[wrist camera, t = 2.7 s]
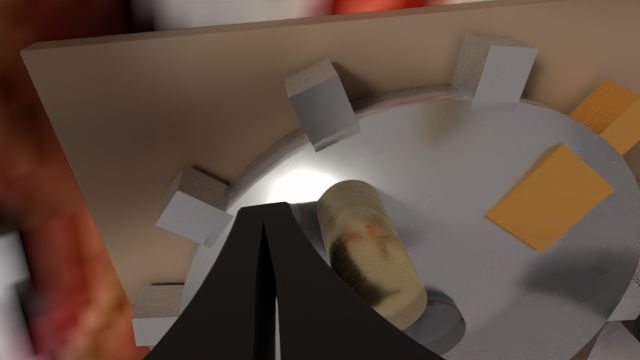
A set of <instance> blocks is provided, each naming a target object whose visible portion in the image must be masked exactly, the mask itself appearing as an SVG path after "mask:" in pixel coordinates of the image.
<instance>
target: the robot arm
mask: <svg viewBox="0 0 640 360" xmlns="http://www.w3.org/2000/svg"><path fill="white" fill-rule="evenodd" d="M276 298H277V303H278V320H279V337H280V358H281V360H446V359H444V358H443V357H441V356H439V355H438V354H436V353H434V352H433V351H431V350H429V349H428V348H426V347H425V346H423V345H421V344H420V343H418V342H417V341H415V340H414V339H412V338H411V337H410V336H408V335H407V334H405V333H404V332H403V331H401V330H400V329H398V328H397V327H395V326H394V325H393V324H392V323H390V322H389V321H388V320H387V319H385V318H384V317H383V316H382V315H380V314H379V313H378V312H377V311H375V310H374V309H373V308H372V307H370V306H369V305H368V304H367V303H366V302H365V301H363V300H362V299H361V298H360V297H359V296H358V295H357V294H356V293H355V292H354V291H353V290H352V289H351V288H350V287H349V286H348V285H347V284H346V283H345V282H344V281H343V280H342V279H341V278H340V277H339V276H338V275H337V274H336V273H335V272H334V271H333V270H332V268H331V267H330V266H329V265H328V264H327V263H326V261H325V260H324V259H323V258H322V257H321V255H320V254H319V253H318V251H317V250H316V249H315V247H314V246H313V245H312V243H311V242H310V240H309V239H308V238H307V236H306V235H305V233H304V232H303V230H302V228H301V227H300V225H299V223H298V222H297V220H296V218H295V216H294V214H293V212H292V209H291V207H290V204H289V203H287V202H286V201H283V202H275V203H268V204H261V205H253V206H246V207H241V208H240V209H239V210H238V212H237V215H236V218H235V220H234V223H233V225H232V228H231V230H230V232H229V235H228V237H227V239H226V241H225V243H224V245H223V247H222V249H221V251H220V253H219V255H218V257H217V259H216V261H215V262H214V264H213V266H212V268H211V269H210V271H209V273H208V274H207V276H206V278H205V279H204V281H203V283H202V284H201V286H200V287H199V289H198V290H197V292H196V293H195V295H194V296H193V298H192V299H191V301H190V302H189V304H188V305H187V306H186V308H185V309H184V310H183V312H182V313H181V315H180V316H179V317H178V319H177V320H176V321H175V322H174V323H173V325H172V326H171V327H170V328H169V330H168V331H167V332H166V333H165V335H164V336H163V337H162V338H161V339H160V341H159V342H158V343H157V344H156V345H155V346H154V348H153V349H152V350H151V351H150V352H149V353H148V354H147V355H146V356H145V357H144V358H143V359H142V360H275V355H276Z"/></svg>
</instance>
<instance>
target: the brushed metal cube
mask: <svg viewBox="0 0 640 360" xmlns="http://www.w3.org/2000/svg"><path fill="white" fill-rule="evenodd" d="M639 286H640V285H639ZM621 323H622V324H623V325H624V326H625V327H626V328H627V329H628V330H629V332H630V333H631V334H632V335H633V336H634V337H635V338H636V339H637V340H638V341H639V342H640V314H639V315H638V317H637V318H636V320H622V321H621Z"/></svg>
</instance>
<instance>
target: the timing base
mask: <svg viewBox="0 0 640 360" xmlns="http://www.w3.org/2000/svg"><path fill="white" fill-rule="evenodd" d="M465 32H471V33H482V34H492V35H503V36H510V37H512V38H514V39H517V40H519V41H521V42H524V43H526V44H528V45H531V46H533V47H535V48H538V52H537V55H536V57H535V60H534V63H533V65H532V68H531V71H530V73H529V76H528V79H527V81H526V84H525V86H524V89H523V92H522V93H523V94H526V95H528V96H531V97H533V98H535V99H538V100H540V101H542V102H545V103H547V104H549V105H551V106H553V107H555V108H556V109H558V110H560V111H561V112H563V113H565V114H567V115H568V116H569V115H570V114H571V113H572V112H573V111H574V110H575V109H576V108H577V107H578V106H579V105H580V104H581V103H582V102H583V101H584V100H585V99H586V98H587V97H588V96H589V95H590V94H591V93H592V92H593V91H594V90H595V89H596V88H597V87H598V86H599V85H600V84H601V83H602V82H603V81H604V80H607V81H610V82H612V83H614V84H616V85H619V86H621V87H623V88H626V89H628V90H630V91H633V92H635V93H637V94H639V95H640V0H495V1H484V2H473V3H462V4H451V5H440V6H429V7H418V8H407V9H396V10H385V11H374V12H363V13H352V14H341V15H330V16H319V17H308V18H297V19H286V20H275V21H264V22H253V23H242V24H231V25H220V26H209V27H198V28H187V29H176V30H165V31H154V32H143V33H132V34H121V35H110V36H99V37H88V38H77V39H66V40H55V41H44V42H35V43H33V44H32V45H30V46H28V47H26V48H25V49H23V50H21V51H19V52H20V54H21V57H22V59H23V61H24V63H25V66H26V68H27V70H28V72H29V75H30V77H31V79H32V82H33V84H34V86H35V88H36V91H37V93H38V95H39V98H40V100H41V102H42V104H43V107H44V109H45V111H46V113H47V116H48V118H49V120H50V123H51V125H52V127H53V129H54V132H55V134H56V136H57V138H58V141H59V143H60V145H61V148H62V150H63V152H64V154H65V157H66V159H67V161H68V164H69V166H70V168H71V170H72V173H73V175H74V177H75V179H76V182H77V184H78V186H79V189H80V191H81V193H82V195H83V198H84V200H85V202H86V205H87V207H88V209H89V211H90V214H91V216H92V218H93V220H94V223H95V225H96V227H97V230H98V232H99V234H100V236H101V239H102V241H103V243H104V245H105V248H106V250H107V252H108V255H109V257H110V259H111V261H112V264H113V266H114V268H115V271H116V273H117V275H118V277H119V280H120V282H121V284H122V286H123V289H124V291H125V293H126V296H127V298H128V300H129V302H130V305H131V307H132V309H133V311H134V309H135V306H136V302H137V299H138V295H139V292H140V288H141V286H160V285H184V283H185V277H186V271H187V265H188V259H189V256H190V253H191V251H192V248H193V245H194V242H195V241H192V240H190V239H188V238H185V237H183V236H180V235H178V234H176V233H173V232H171V231H168V230H166V229H164V228H161V227H159V226H156V225H155V223H156V220H157V216H158V213H159V210H160V206H161V203H162V200H163V196H164V195H165V193H166V192H167V190H168V189H169V187H170V185H171V184H172V182H173V181H174V179H175V178H176V176H177V175H178V173H179V171H180V170H181V168H182V167H183V165H184V164H185V165H187V166H189V167H191V168H193V169H195V170H197V171H199V172H201V173H203V174H205V175H207V176H209V177H211V178H213V179H215V180H217V181H219V182H221V183H223V184H225V185H227V186H228V185H229V184H230V183H231V182H232V181H233V180H234V179H235V178H236V177H237V176H238V175H239V174H240V173H241V172H242V171H243V170H244V169H245V168H246V167H247V166H248V165H249V164H250V163H251V161H252V160H254V159H255V158H256V157H257V156H259V155H260V154H261V153H263V152H264V151H265V150H266V149H268V148H269V147H270V146H272V145H273V144H274V143H275V142H277V141H278V140H279V139H281V138H282V137H284V136H285V135H287V134H289V133H290V132H292V131H294V130H295V129H297V128H299V127H300V126H302V124H301V122H300V120H299V118H298V116H297V114H296V112H295V110H294V108H293V106H292V104H291V102H290V100H289V98H288V94H287V90H286V86H285V82H284V79H286V78H288V77H290V76H292V75H294V74H296V73H298V72H300V71H302V70H304V69H306V68H308V67H311V66H313V65H315V64H317V63H319V62H321V61H323V60H325V59H327V58H328V59H329V61H330V62H331V64H332V66H333V67H334V69H335V70H336V72H337V74H338V76H339V78H340V81H341V83H342V85H343V88H344V90H345V93H346V95H347V97H348V100H349V102H353V101H356V100H360V99H363V98H366V97H370V96H373V95H376V94H379V93H383V92H386V91H391V90H397V89H402V88H408V87H414V86H420V85H429V84H451V81H452V77H453V74H454V70H455V67H456V63H457V60H458V56H459V53H460V49H461V46H462V42H463V39H464V35H465ZM622 157H623V159H624V160H625V162H626V164H627V165H628V167H629V168H630V170H631V172H632V173H633V175H634V177H635V179H636V182H639V181H640V140H639V141H638V142H637V143H636V144H635V145H634V146H632V147H631V148H630V149H629V150H628V151H627V152H626V153H625V154H623V155H622ZM601 329H602V327H601V328H600V329H599V331H598V332H597V333H596V334H595V335H594V336H593V337H592V339H591V340H590V341H589V342H588V343H587V344H586V345H585V346H584V347H582V348H581V349H580V350H579V351H578V352H577V353H576V354H575V355H574V356H573V357H572V358H571V359H569V360H587V359H588V356H589V354H590V352H591V350H592V348H593V346H594V344H595V341H596V339H597V337H598V335H599V333H600V331H601ZM148 346H149V348H150V350H152V349H153V348H154V346H155V345H148Z"/></svg>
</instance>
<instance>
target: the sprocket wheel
mask: <svg viewBox="0 0 640 360" xmlns="http://www.w3.org/2000/svg"><path fill="white" fill-rule="evenodd" d="M537 52H538V48H535V47H533V46H531V45H528V44H526V43H524V42H521V41H519V40H517V39H514V38H512V37H510V36H503V35H492V34H482V33H471V32H465V35H464V39H463V42H462V46H461V49H460V53H459V56H458V60H457V63H456V67H455V70H454V74H453V77H452V81H451V84H429V85H420V86H414V87H408V88H402V89H397V90H391V91H386V92H383V93H379V94H376V95H373V96H370V97H366V98H363V99H360V100H356V101H353V102H349V100H348V97H347V95H346V93H345V90H344V88H343V85H342V83H341V81H340V78H339V76H338V74H337V72H336V70H335V69H334V67H333V66H332V64H331V62H330V61H329V59H328V58H327V59H325V60H323V61H321V62H319V63H317V64H315V65H313V66H311V67H308V68H306V69H304V70H302V71H300V72H298V73H296V74H294V75H292V76H290V77H288V78H286V79H284V82H285V86H286V90H287V94H288V98H289V100H290V102H291V104H292V106H293V108H294V110H295V112H296V114H297V116H298V118H299V120H300V122H301V124H302V126H300V127H299V128H297V129H295V130H294V131H292V132H290V133H289V134H287V135H285V136H284V137H282V138H281V139H279V140H278V141H277V142H275V143H274V144H273V145H272V146H270V147H269V148H268V149H266V150H265V151H264V152H263V153H261V154H260V155H259V156H257V157H256V158H255V159H254V160H252V161H251V163H250V164H249V165H248V166H247V167H246V168H245V169H244V170H243V171H242V172H241V173H240V174H239V175H238V176H237V177H236V178H235V179H234V180H233V181H232V182H231V183H230V184H229V185H228V186H227V185H225V184H223V183H221V182H219V181H217V180H215V179H213V178H211V177H209V176H207V175H205V174H203V173H201V172H199V171H197V170H195V169H193V168H191V167H189V166H187V165H185V164H184V165H183V167H182V168H181V170H180V171H179V173H178V175H177V176H176V178H175V179H174V181H173V182H172V184H171V185H170V187H169V189H168V190H167V192H166V193H165V195H164V196H163V200H162V203H161V206H160V210H159V213H158V216H157V220H156V223H155V225H156V226H159V227H161V228H164V229H166V230H168V231H171V232H173V233H176V234H178V235H180V236H183V237H185V238H188V239H190V240H192V241H195V242H194V245H193V248H192V251H191V253H190V256H189V259H188V265H187V271H186V277H185V283H184V285H160V286H141V288H140V292H139V295H138V299H137V302H136V306H135V309H134V313H133V317H132V323H133V329H134V335H135V341H136V346H148V345H156V344H157V343H158V342H159V341H160V339H161V338H162V337H163V336H164V335H165V333H166V332H167V331H168V330H169V328H170V327H171V326H172V325H173V323H174V322H175V321H176V320H177V319H178V317H179V316H180V315H181V313H182V312H183V310H184V309H185V308H186V306H187V305H188V304H189V302H190V301H191V299H192V298H193V296H194V295H195V293H196V292H197V290H198V289H199V287H200V286H201V284H202V283H203V281H204V279H205V278H206V276H207V274H208V273H209V271H210V269H211V268H212V266H213V264H214V262H215V261H216V259H217V257H218V255H219V253H220V251H221V249H222V247H223V245H224V243H225V241H226V239H227V237H228V235H229V232H230V230H231V228H232V225H233V223H234V220H235V218H236V215H237V212H238V210H239V209H240V208H241V207H246V206H253V205H261V204H268V203H275V202H283V201H286V202H287V203H289V204H290V207H291V209H292V212H293V214H294V216H295V218H296V220H297V222H298V223H299V225H300V227H301V228H302V230H303V232H304V233H305V235H306V236H307V238H308V239H309V240H310V242H311V243H312V245H313V246H314V247H315V249H316V250H317V251H318V253H319V254H320V255H321V257H322V258H323V259H324V260H325V261H326V263H327V264H328V265H329V266H330V267H331V268H332V270H333V271H334V272H335V273H336V274H337V275H338V276H339V277H340V278H341V279H342V280H343V281H344V282H345V283H346V284H347V285H348V286H349V287H350V288H351V289H352V290H353V291H354V292H355V293H356V294H357V295H358V296H359V297H360V298H361V299H362V300H363V301H365V302H366V303H367V304H368V305H369V306H370V307H372V308H373V309H374V310H375V311H377V312H378V313H379V314H380V315H382V316H383V317H384V318H385V319H387V320H388V321H389V322H390V323H392V324H393V325H394V326H395V327H397V328H398V329H400V330H401V331H403V332H404V333H405V334H407V335H408V336H410V337H411V338H412V339H414V340H415V341H417V342H418V343H420V344H421V345H423V346H425V347H426V348H428V349H429V350H431V351H433V352H434V353H436V354H438V355H439V356H441V357H443V358H444V359H446V360H569V359H571V358H572V357H573V356H574V355H575V354H576V353H577V352H578V351H579V350H580V349H581V348H582V347H584V346H585V345H586V344H587V343H588V342H589V341H590V340H591V339H592V337H593V336H594V335H595V334H596V333H597V332H598V331H599V329H600V328H601V327H602V326H603V325H604V324H605V322H606V321H619V320H636V318H637V317H638V315H639V314H640V286H639V285H638V284H637V283H635V282H634V281H633V280H632V277H633V275H634V272H635V270H636V267H637V265H638V262H639V258H640V181H639V182H636V179H635V177H634V175H633V173H632V172H631V170H630V168H629V167H628V165H627V164H626V162H625V160H624V159H623V157H622V155H623V154H625V153H626V152H627V151H628V150H629V149H630V148H631V147H632V146H634V145H635V144H636V143H637V142H638V141H639V140H640V95H639V94H637V93H635V92H633V91H630V90H628V89H626V88H623V87H621V86H619V85H616V84H614V83H612V82H610V81H607V80H604V81H603V82H602V83H601V84H600V85H599V86H598V87H597V88H596V89H595V90H594V91H593V92H592V93H591V94H590V95H589V96H588V97H587V98H586V99H585V100H584V101H583V102H582V103H581V104H580V105H579V106H578V107H577V108H576V109H575V110H574V111H573V112H572V113H571V114H570V115H569V116H568V115H567V114H565V113H563V112H561V111H560V110H558V109H556V108H555V107H553V106H551V105H549V104H547V103H545V102H542V101H540V100H538V99H535V98H533V97H531V96H528V95H526V94H523V93H522V92H523V89H524V86H525V84H526V81H527V79H528V76H529V73H530V71H531V68H532V65H533V63H534V60H535V57H536V55H537ZM275 360H281V358H280V337H279V320H278V303H277V298H276V355H275Z"/></svg>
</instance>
